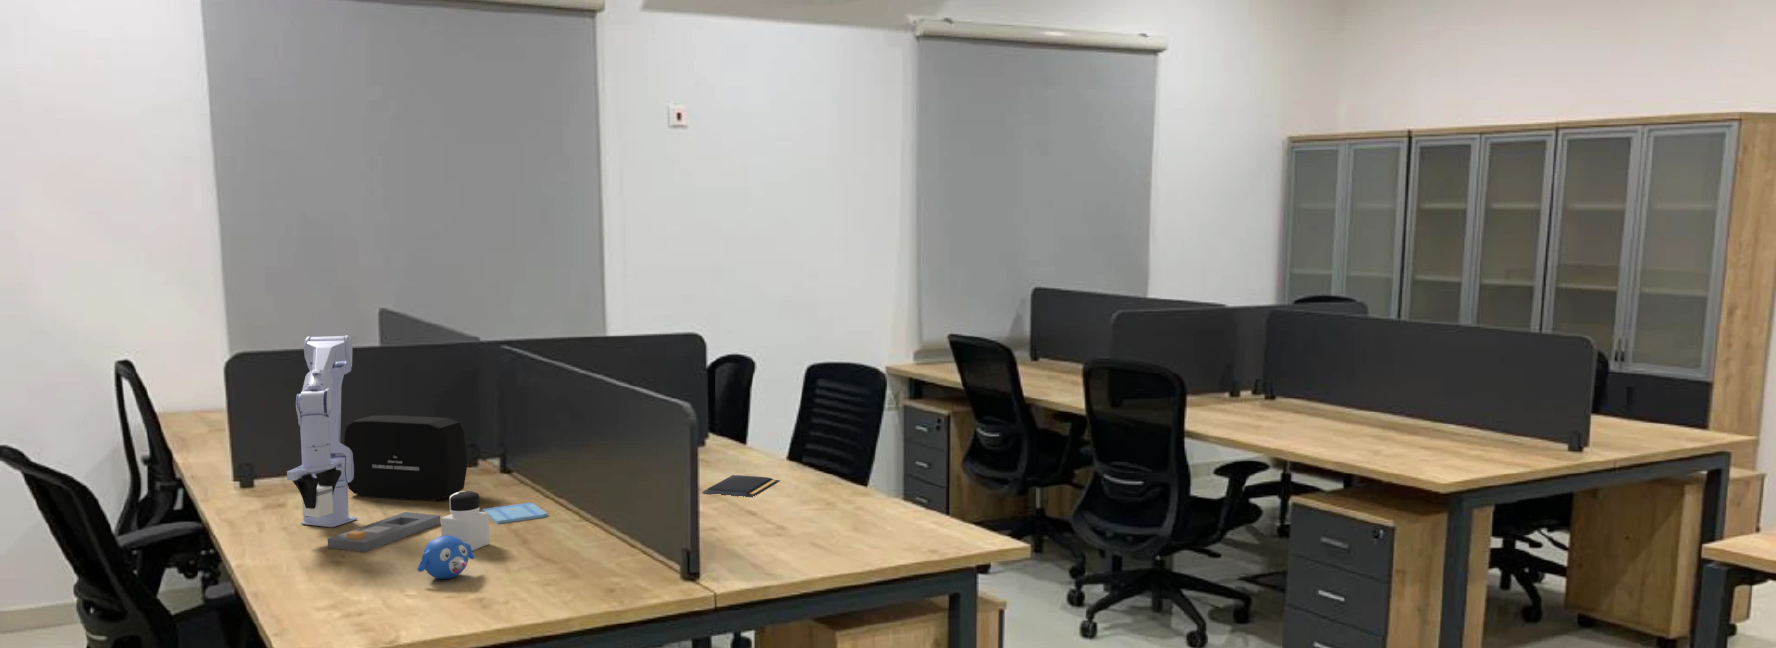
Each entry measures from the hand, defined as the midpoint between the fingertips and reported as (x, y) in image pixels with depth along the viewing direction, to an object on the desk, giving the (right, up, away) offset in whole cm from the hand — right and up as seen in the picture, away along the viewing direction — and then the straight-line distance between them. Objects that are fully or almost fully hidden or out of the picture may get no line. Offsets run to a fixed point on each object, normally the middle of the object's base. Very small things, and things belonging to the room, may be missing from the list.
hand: (318, 505), depth 257 cm
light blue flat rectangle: (+35, -7, +25) cm, 44 cm away
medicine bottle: (+34, -9, -3) cm, 35 cm away
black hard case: (+2, -4, +45) cm, 45 cm away
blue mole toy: (+39, -11, -25) cm, 48 cm away
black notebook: (+87, -4, +53) cm, 102 cm away
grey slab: (+12, -8, +6) cm, 16 cm away
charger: (0, -2, 0) cm, 2 cm away
